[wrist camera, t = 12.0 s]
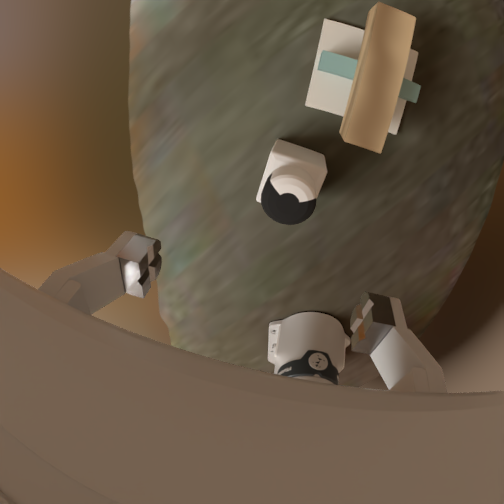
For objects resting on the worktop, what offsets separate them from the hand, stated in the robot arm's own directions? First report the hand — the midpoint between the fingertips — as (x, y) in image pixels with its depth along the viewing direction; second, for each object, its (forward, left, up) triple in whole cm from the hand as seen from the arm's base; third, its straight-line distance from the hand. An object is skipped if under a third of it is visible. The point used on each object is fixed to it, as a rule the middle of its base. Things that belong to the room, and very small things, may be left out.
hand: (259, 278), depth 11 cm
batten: (+10, -7, -25) cm, 28 cm away
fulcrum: (+10, -7, -31) cm, 33 cm away
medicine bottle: (-6, -1, -31) cm, 32 cm away
